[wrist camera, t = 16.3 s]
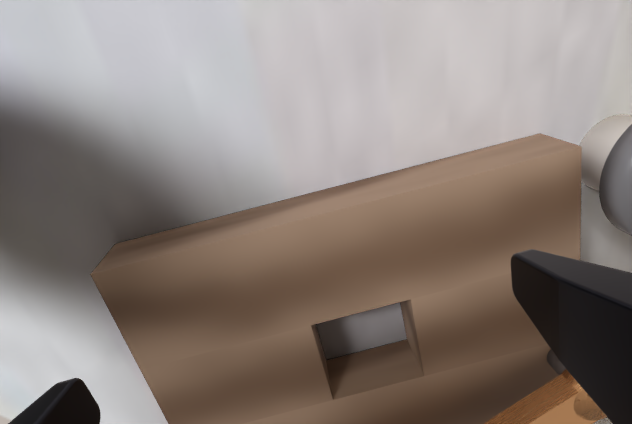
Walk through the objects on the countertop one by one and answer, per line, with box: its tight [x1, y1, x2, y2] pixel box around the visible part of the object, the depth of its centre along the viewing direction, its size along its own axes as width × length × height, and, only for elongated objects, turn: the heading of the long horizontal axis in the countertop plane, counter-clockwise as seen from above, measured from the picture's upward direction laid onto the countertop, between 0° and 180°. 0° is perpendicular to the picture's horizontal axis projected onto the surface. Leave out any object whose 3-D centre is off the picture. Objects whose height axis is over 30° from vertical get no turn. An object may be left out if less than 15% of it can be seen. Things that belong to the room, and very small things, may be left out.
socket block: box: [90, 134, 582, 424], centre depth 22 cm, size 16×22×4 cm
